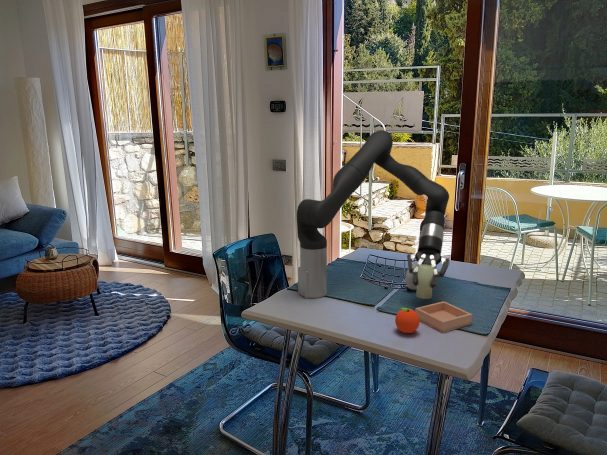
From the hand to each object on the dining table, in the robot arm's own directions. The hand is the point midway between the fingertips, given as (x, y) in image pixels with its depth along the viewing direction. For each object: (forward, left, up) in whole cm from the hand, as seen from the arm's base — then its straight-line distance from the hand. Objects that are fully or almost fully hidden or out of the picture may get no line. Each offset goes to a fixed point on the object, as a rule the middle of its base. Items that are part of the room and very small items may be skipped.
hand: (423, 285), depth 151 cm
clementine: (-15, -10, -8) cm, 20 cm away
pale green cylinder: (+1, +1, -4) cm, 5 cm away
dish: (-1, -10, -8) cm, 13 cm away
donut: (+10, +15, -8) cm, 20 cm away
